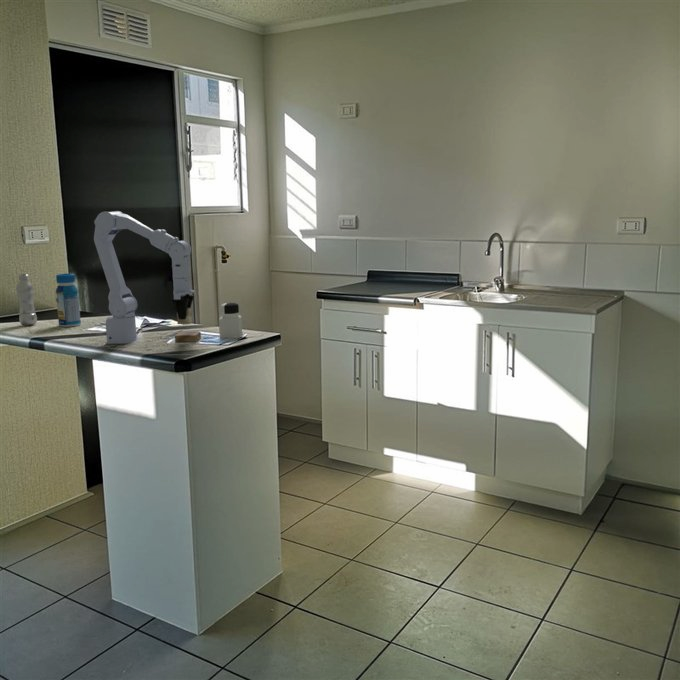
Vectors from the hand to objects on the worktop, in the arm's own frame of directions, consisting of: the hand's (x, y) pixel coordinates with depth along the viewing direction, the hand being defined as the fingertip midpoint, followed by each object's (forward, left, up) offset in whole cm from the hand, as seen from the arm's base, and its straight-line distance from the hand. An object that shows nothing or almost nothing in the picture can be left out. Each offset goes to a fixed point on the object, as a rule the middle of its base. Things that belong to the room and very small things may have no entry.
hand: (184, 318), depth 241 cm
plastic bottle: (-72, +37, -9) cm, 82 cm away
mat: (0, +1, -9) cm, 9 cm away
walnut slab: (+1, +1, -8) cm, 8 cm away
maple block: (0, 0, -2) cm, 2 cm away
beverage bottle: (-55, +36, -9) cm, 67 cm away
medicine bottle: (+14, +9, -9) cm, 19 cm away
